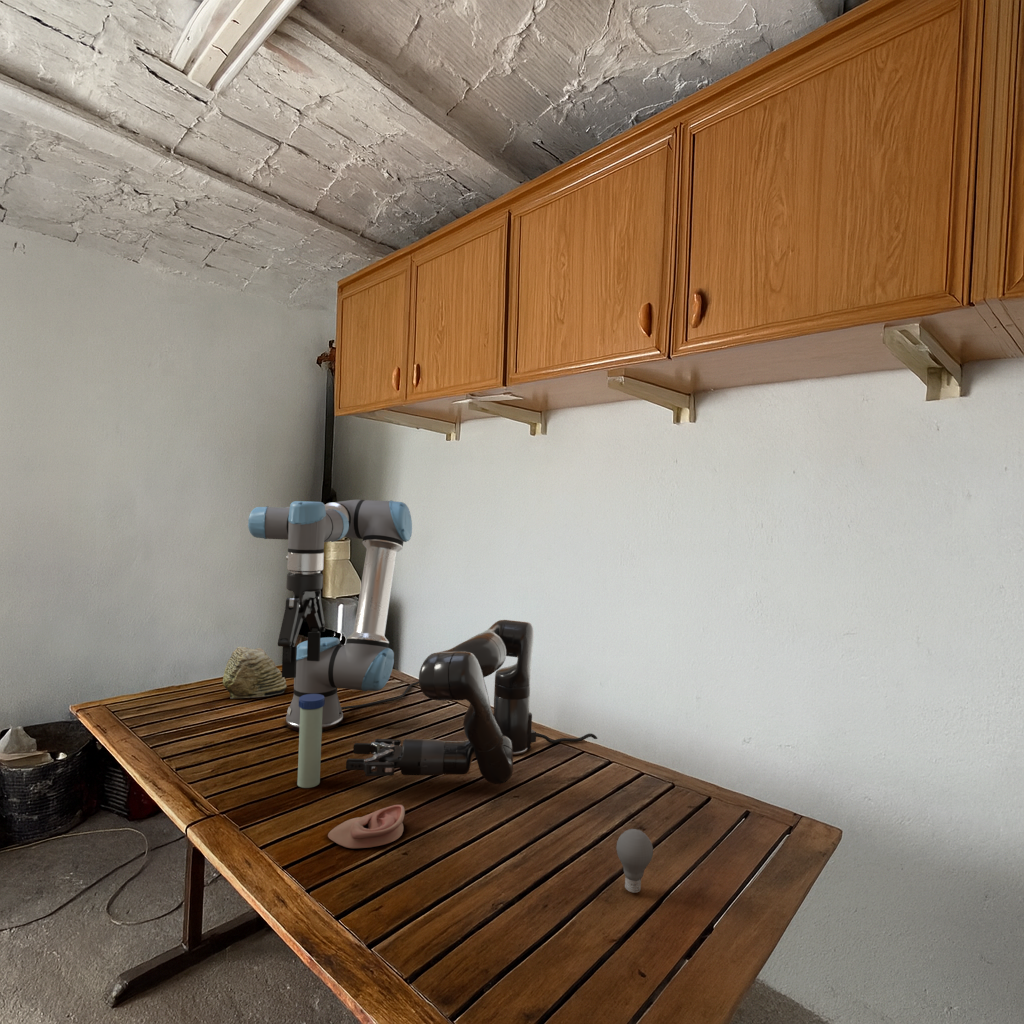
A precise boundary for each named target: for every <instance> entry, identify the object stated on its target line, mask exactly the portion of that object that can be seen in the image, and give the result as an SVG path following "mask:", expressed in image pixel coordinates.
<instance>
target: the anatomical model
mask: <svg viewBox="0 0 1024 1024" xmlns="http://www.w3.org/2000/svg"><path fill="white" fill-rule="evenodd" d="M405 814H406V809H405V806H404V805H403V804H393V805H389V806H386V807H383V808H381V809H377V810H375V811H373V812H371V813H368V814H366V815H363V816H360V817H358V816H357V817H354V818H350V819H347V820H345V821H343V822H341V823H340V824H338V825H336V826H334V827H333V828H332V829H331V830H330V831H329V832H328V834H327V838H328V839H329V840H331V842H333V843H336V845H339V846H341V847H344V848H347V849H366V848H367V849H368V848H374V847H379V846H384V845H388V844H390V843H392V842H394V841H397V840H399V838H401V836H402V835H403V832H404V829H405V828H404V823H403V822H404V820H405Z"/></svg>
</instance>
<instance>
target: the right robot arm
mask: <svg viewBox="0 0 1024 1024" xmlns="http://www.w3.org/2000/svg"><path fill="white" fill-rule="evenodd" d="M534 643H535V629H534V626H533V624H532V622H528V621H522V620H513V619H512V620H511V619H499V620H497V621H495V622H494V623H493V624H492V625H491V626H489V628H487V629H486V630H484V631H482V632H480V633H478V634H475V635H473V636H472V637H470V638H468V639H467V640H465V641H462V642H460V643H459V644H457V645H454V647H451V648H449V649H445V650H441V651H438V652H437V651H436V652H432V653H431V654H429V655H428V656H427V657H426V658H425V659H424V660H423V662H422V664H421V666H420V669H419V673H418V681H419V684H418V685H419V688H420V691H421V692H422V694H423V695H424V696H425V697H426V698H428V699H430V700H433V701H438V702H439V701H441V702H444V701H465V700H466V701H467V702H468V703H469V705H468V708H467V709H466V711H465V714H464V717H463V724H462V725H463V731H464V734H465V736H466V738H467V740H457V741H456V740H440V739H427V738H426V739H423V738H421V739H420V738H419V739H418V738H417V739H416V738H405V739H404V740H403V741H401V739H394V738H393V739H390V738H375V739H374V741H371V742H355V743H354V744H353V748H352V750H353V754H354V755H370V754H371V755H372V757H368V758H347V759H346V761H345V770H346V771H363V772H364V773H365V776H366V777H376V776H377V777H392V776H394V775H395V769H400V775H402V776H425V777H426V776H428V777H429V776H430V777H431V776H433V777H434V776H440V775H445V776H446V775H447V776H448V775H450V776H452V775H453V776H455V775H456V776H457V775H458V776H459V775H461V776H463V775H466V774H468V773H469V772H470V770H471V766H472V762H473V760H475V759H476V762H477V763H476V764H477V766H478V770H479V773H480V774H481V776H482V777H483V779H484V780H485V781H487V782H488V783H490V784H493V785H503V784H505V783H507V782H508V781H510V779H511V778H512V775H513V772H514V756H519V755H524V754H525V753H527V752H528V751H531V748H532V743H537V738H541V739H544V740H545V741H546V742H547V743H549V744H558V743H564V742H565V743H566V742H567V743H578V742H582V741H585V740H587V739H589V738H592V739H594V740H597V739H599V738H598V737H597V735H595V734H594V733H586V734H584V735H583V736H580V737H576V738H575V737H574V738H571V737H561V738H556V739H551V738H550V737H549V736H548V735H545V734H542V733H538V732H537V731H536V730H534V729H532V727H533V725H532V724H533V713H532V712H530V700H531V698H530V697H531V678H532V677H531V676H532V665H533V664H532V663H533V654H534V653H533V652H534ZM507 657H509V658H516V663H515V664H513V665H508V666H504V667H502V666H503V664H504V663H505V661H506V658H507ZM492 674H494V690H493V710H492V707H491V702H490V698H489V692H488V690H487V684H486V682H485V678H487V677H489V676H491V675H492Z"/></svg>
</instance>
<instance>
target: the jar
mask: <svg viewBox="0 0 1024 1024" xmlns="http://www.w3.org/2000/svg"><path fill="white" fill-rule="evenodd" d="M322 712H323V707H321V708H317V709H302V708H300V728H299V731H298V756H297V758H298V759H297V781H296V785H297V786H298V787H299V788H302V789H311V788H315V787H317V786H318V785H320V783H321V765H322V764H321V763H322V762H321V761H322V735H323V731H322Z"/></svg>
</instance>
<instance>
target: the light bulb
mask: <svg viewBox="0 0 1024 1024" xmlns="http://www.w3.org/2000/svg"><path fill="white" fill-rule="evenodd" d="M615 849H616V854H617V857H618V859H619V861H620V863H621V865H622V867H623V873H624V874H623V875H624V876H625V878H624V888H625V890H627V891H628V892H630V893H634V894H635V893H639V892H640V891H641V889H642V887H641V886H642V879H643V877H644V875H645V871H646V868H647V867H648V866H649V864H650V863H651V861H652V859H653V855H654V847H653V843H652V841H651V838H649V836H648V835H647V834H646V833H645V832H643V831H642V830H641V829H636V828H629V829H627V830H625V831H623V832H622V833H621V834H620V835H619V837H618V839H617V841H616V847H615Z"/></svg>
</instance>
